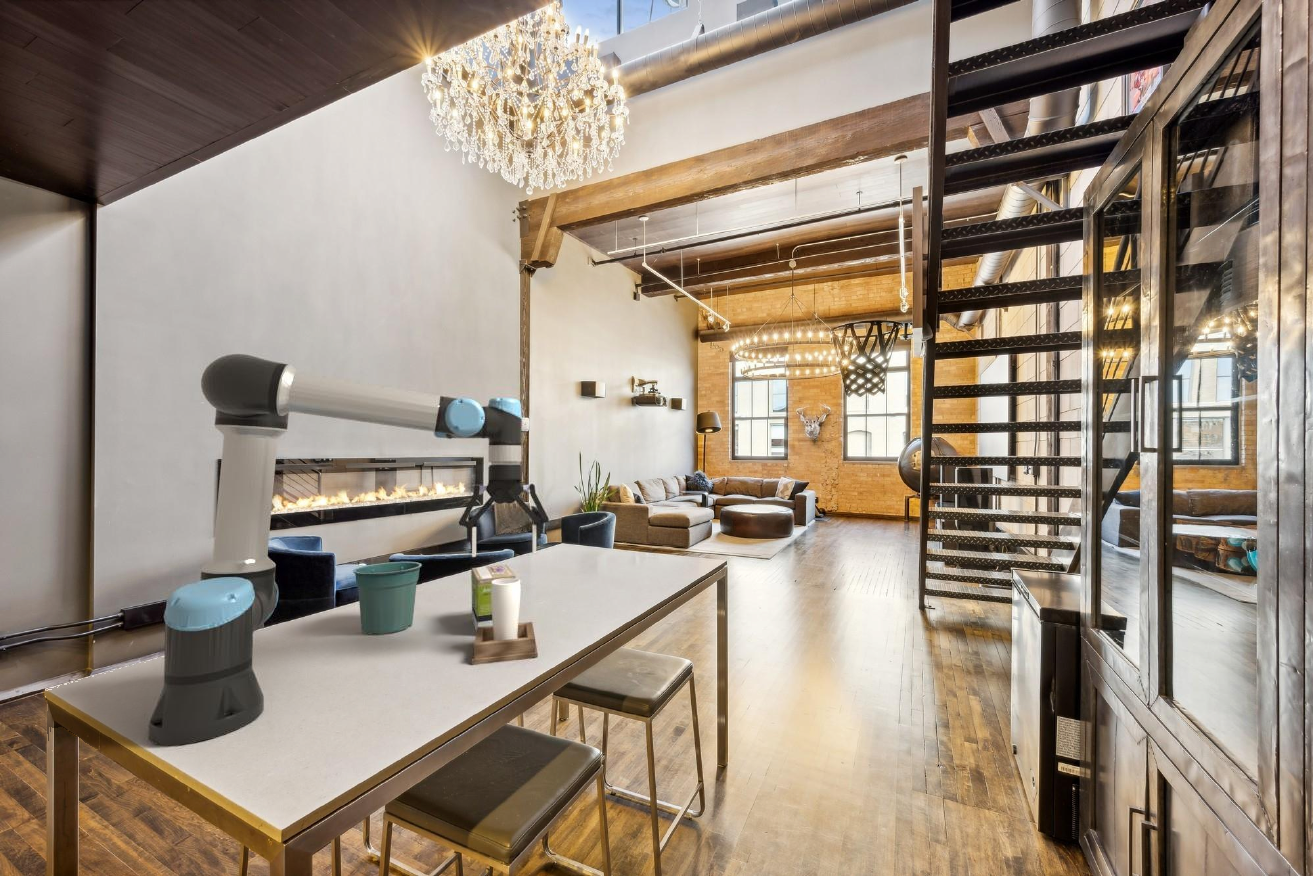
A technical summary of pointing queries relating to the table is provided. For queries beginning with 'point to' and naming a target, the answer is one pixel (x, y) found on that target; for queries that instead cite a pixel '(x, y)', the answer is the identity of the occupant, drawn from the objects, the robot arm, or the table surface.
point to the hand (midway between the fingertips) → (504, 554)
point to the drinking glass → (505, 608)
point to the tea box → (485, 592)
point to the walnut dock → (504, 645)
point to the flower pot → (387, 595)
